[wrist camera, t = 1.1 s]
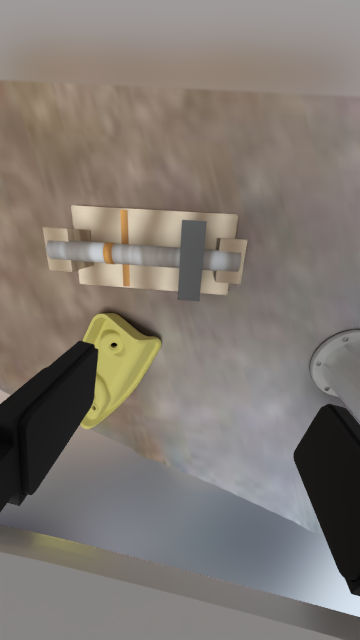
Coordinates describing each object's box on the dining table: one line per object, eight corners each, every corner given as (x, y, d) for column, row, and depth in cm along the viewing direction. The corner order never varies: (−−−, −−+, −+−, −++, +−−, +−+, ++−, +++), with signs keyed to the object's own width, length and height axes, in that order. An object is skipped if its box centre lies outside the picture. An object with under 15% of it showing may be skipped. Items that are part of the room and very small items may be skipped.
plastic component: (97, 307, 35) (141, 345, 32) (127, 307, 42) (166, 338, 38) (56, 397, 41) (90, 436, 37) (88, 384, 47) (119, 416, 44)
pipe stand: (240, 215, 30) (253, 209, 23) (229, 292, 34) (237, 309, 27) (73, 206, 32) (33, 197, 24) (81, 281, 36) (49, 294, 28)
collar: (205, 224, 28) (206, 221, 21) (199, 285, 31) (199, 301, 24) (186, 223, 29) (181, 219, 21) (182, 284, 32) (177, 299, 24)
